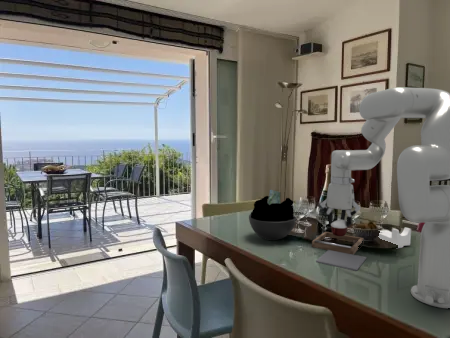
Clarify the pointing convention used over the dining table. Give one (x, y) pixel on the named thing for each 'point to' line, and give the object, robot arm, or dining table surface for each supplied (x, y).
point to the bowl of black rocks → (272, 218)
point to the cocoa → (339, 225)
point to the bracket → (396, 237)
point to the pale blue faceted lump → (274, 197)
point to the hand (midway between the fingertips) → (339, 224)
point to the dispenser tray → (336, 247)
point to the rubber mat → (341, 260)
